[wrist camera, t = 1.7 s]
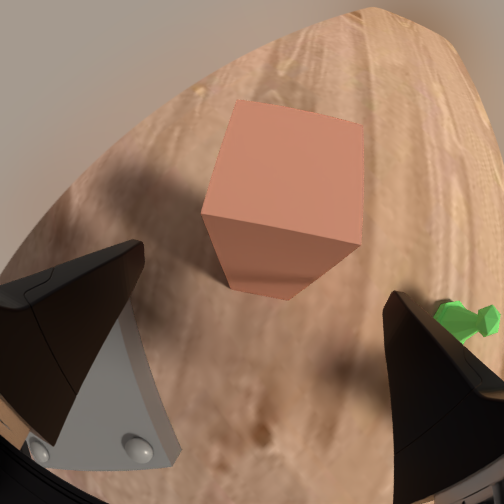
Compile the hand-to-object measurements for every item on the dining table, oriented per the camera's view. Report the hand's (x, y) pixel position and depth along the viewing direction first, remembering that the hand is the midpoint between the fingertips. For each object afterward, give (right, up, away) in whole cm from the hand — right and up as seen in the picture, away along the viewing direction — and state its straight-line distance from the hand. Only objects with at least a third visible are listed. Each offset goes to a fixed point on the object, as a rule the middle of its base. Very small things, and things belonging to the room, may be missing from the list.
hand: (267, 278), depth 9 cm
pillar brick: (0, 0, +10) cm, 10 cm away
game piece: (+16, -5, +9) cm, 19 cm away
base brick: (-14, -9, +8) cm, 18 cm away
